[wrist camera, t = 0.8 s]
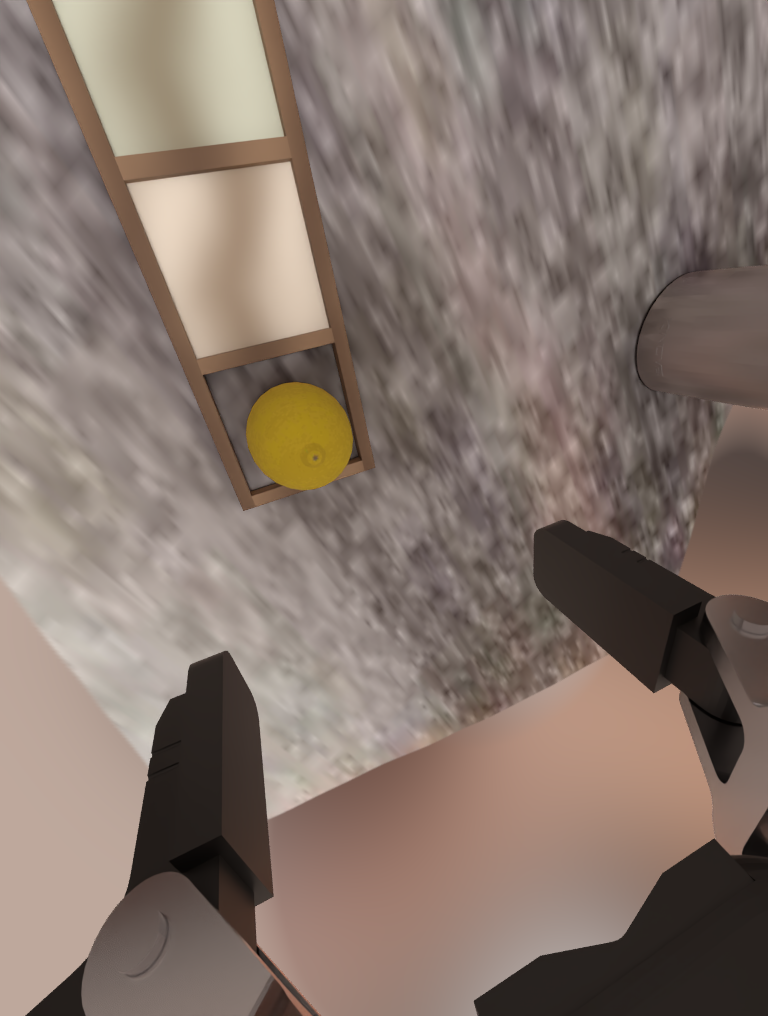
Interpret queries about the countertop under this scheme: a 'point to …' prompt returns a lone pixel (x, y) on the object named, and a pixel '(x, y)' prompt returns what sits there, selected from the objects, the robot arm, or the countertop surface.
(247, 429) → the lemon
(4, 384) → the countertop surface
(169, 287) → the board
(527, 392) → the countertop surface
